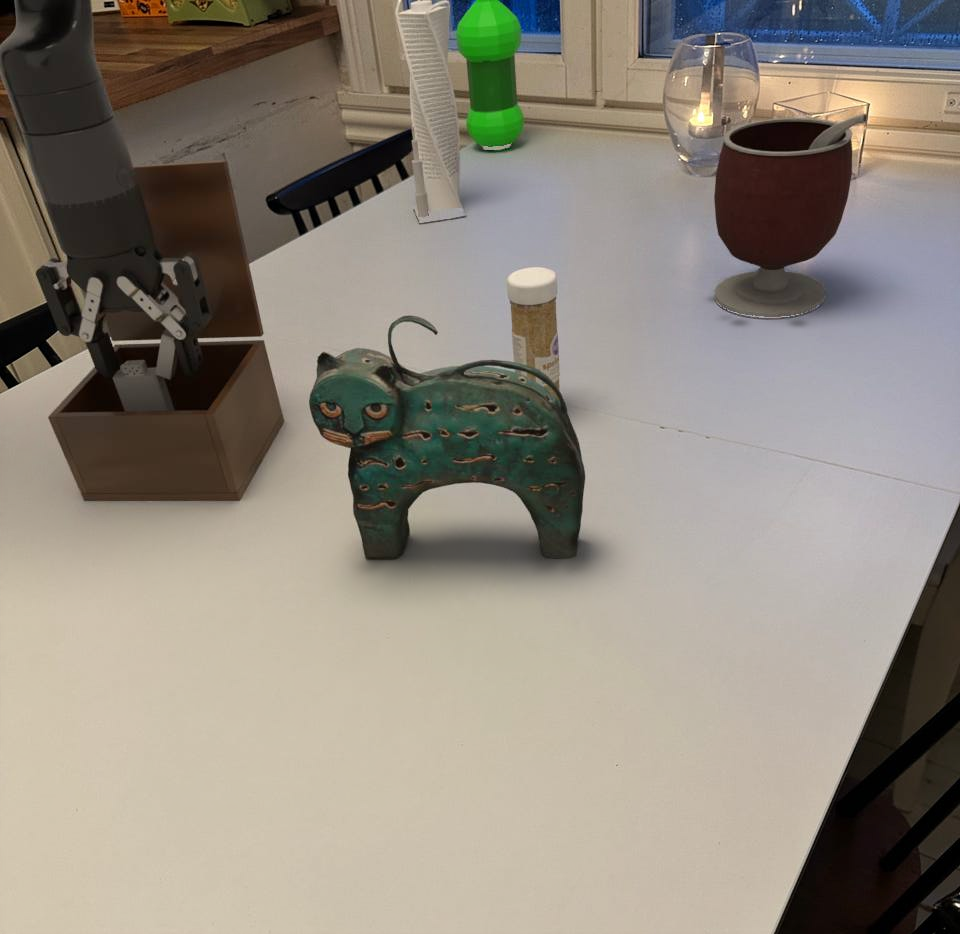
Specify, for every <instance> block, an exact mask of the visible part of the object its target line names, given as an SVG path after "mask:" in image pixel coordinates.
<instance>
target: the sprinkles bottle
mask: <svg viewBox="0 0 960 934" xmlns="http://www.w3.org/2000/svg"><path fill="white" fill-rule="evenodd" d="M506 288H507V289H506V291H507V298H508V301H509V304H510V314H511V315H510V318H511V338H512V339H511V340H512V354H513V362H515V363H521V364H524V365H527V366H530V367H533V368H536V369H538V370H540V371H541V372H543V373H544V374H545V375H547V376H548V377H549V378H550V379H551V380H552V381H553V382H554V383H555V384H556V386H557V388H558V389H559V391H560V389H561V388H560V386H561V385H560V376H561V374H560V373H561V372H560V370H561V369H560V352H559V350H560V349H559V333H558V321H557V320H558V318H557V302H556V301H557V296H558V277H557V274H556V273H555V271H553V270H552V269H550V268H546V267H539V266H538V267H536V266H534V267H526V268H525V267H524V268H521V269H518V270H515V271H514V272H511V274H509V275H508V277H507V280H506ZM514 372H517V373H519V374H522V375H524V376H527V377H528V378H530V379H532V380H533V381H535V382H537V383H539V384H540V385H542V386H543V387H545V388H546V389H547V390H548V391H549V392H550V393H552V394H553V395H554V396H555V397H556V398H557V399H558V401H559V398H558V396H557V395H556V393H555V392H554V391H553V390H552V388H551V387H550V386H548V385H547V384H546V383H544V382H543V381H541V380H540V379H539V378H537V377H535V376H534V375H532V374H529V373H527V372H524V371H519V370H515V369H514ZM560 392H561V391H560ZM559 402H560V401H559Z"/></svg>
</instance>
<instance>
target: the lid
mask: <svg viewBox="0 0 960 934" xmlns="http://www.w3.org/2000/svg"><path fill="white" fill-rule="evenodd" d="M228 165H229V164H228V161H227V159H220V160H218V159H217V160H203V161H189V162H172V163H154V164H138V165H133V168H134V171H135V174H136V178H137V181H138V184H139V188H140V191H141V194H142V197H143V201H144V204H145V207H146V211H147V214H148V217H149V220H150V224H151V227H152V231H153V237H154V243H155V246H156V248H157V249H158V251H159V252H160V254H161V255H162V256H163V257H164V258H181V257H183V256H184V255H185V254H186V253H188V252H190V253H193V254H194V255H195V256H196V257H197V259H198V263H199V267H200V270H201V274H202V278H203V282H204V285H205V289H206V293H207V296H208V300H209V304H210V307H211V311H212V319H211V320H210V321H209V323H208V324H207V325H206V326H205V327H204V329H203V330H202V331H201V332H196V335H197V338H198V339H223V338H256V337H257V338H258V337H259V338H261V337H263V336H264V335H265V334H264V328H263V323H262V318H261V314H260V309H259V305H258V300H257V296H256V291H255V286H254V282H253V276H252V272H251V267H250V262H249V258H248V254H247V249H246V245H245V239H244V236H243V231H242V226H241V220H240V217H239V212H238V206H237V202H236V198H235V193H234V189H233V183H232V180H231V175H230V170H229V166H228ZM163 282H164V283H165V284H166V285H167V286H168V287H169V289H170V290H171V291H172V292H173V293H174V294H175V295H176V296H177V297H178V300H179V303H180V305H181V306H182V307H183V308H184V304H183V301H182V298H181V294H180V291H179V287H178V286H177V285H174V284H173V283H172V279H171V278H170V276H169V275H167V274H165V275H164V278H163ZM155 301H156V302H157V303H159V304H161V301H160V299H159V298H158V297H156V299H155ZM184 309H185V308H184ZM105 324H106V325H107V329H108V333H109V337H110V339H111V342H123V341H125V342H126V341H127V342H128V341H159V340H160V341H161V336H162V334H163V333H164V331H165V330H166V328H165V327H164V326H163V325H162V324H161V323H160V322H156V321H154V320H153V319H152V318H151V317H150V316H149V315H148V314H147V313H146V312H145V311H144V310H143V312H131V311H127V310H123V311H120V312H117V313H109V312H108V313H107V316H106V320H105Z"/></svg>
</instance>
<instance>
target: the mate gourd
mask: <svg viewBox="0 0 960 934" xmlns="http://www.w3.org/2000/svg"><path fill="white" fill-rule="evenodd" d="M867 122H868V114H867V113H861V114H859V115H854V116H852V117H850V118H847V119H845V120H842V121H840V122H836V121H832V120H828V119H821V118H812V117H811V118H809V117H782V118H781V117H779V118H778V117H777V118H770V119H762V120H756V121H752V122H747V123H744V124H743V123H742V124H740V125H737V126H734V127H732V128H731V129H729V130H728V131H726V132H725V134H724V135H723V143H722V147H721V149H720V153H719V156H718V162H717V166H716V171H715V181H714V182H715V183H714V195H713V196H714V197H713V198H714V200H713V201H714V214H715V224H716V231H717V235H718V237H719V238H720V240H721V242H723V244H724V246H725V247H726V249H727V250H728V252H729V254H730V255H731V256H732V257H734V258H735V259H737V260H739V261H742V262H743V263H744V262H745V263H747V264H751V265H754V266H757V267H759V269H758V270H753V271H748V272H742V273H738V274H735V275H731V276H730V277H727V278H725V279H724V280H722V281H721V282H719V283H718V284H717V286H716V287H715V289H714V301H715V303H716V305H717V306H718V307H719V308H721V309H722V310H724V311H726V312H728V313H730V314H733V315H736V316H740V317H745V318H750V319H751V318H752V319H758V320H759V319H760V320H780V319H790V318H795V317H799V316H802V315H807V314H809V313H811V312H813V311H816V310H817V309H818V308H819V307H821V306H822V304H823V303H824V302H825V299H826V288H825V286H824V285H823V284H822V283H821V282H820V281H818V280H817V279H815V278H813V277H811V276H809V275H806V274H802V273H799V272H793V271H787V270H786V267H789V266H793V265H796V264H800V263H803V262H806V261H809V260H811V259H814V258H815V257H817V256H818V255H819V254H820V252H821V251H822V250H823V249H824V248H825V247H826V246H827V244H829V243H830V241H832V239H833V238H834V237H835V236H836V234H837V232H838V229H839V227H840V225H841V222H842V219H843V216H844V214H845V213H844V212H845V209H846V205H847V202H848V199H849V194H850V187H851V180H852V175H853V143H852V138H853V131H852V130H851V128H852V127H854V126H856V125H858V124H865V123H867ZM715 299H716V300H715ZM823 300H824V301H823ZM716 301H717V302H718V303H719V304H720V305H721V306H722V307H724V308H726V309H728V310H730V311H733V312H737V313H739V314H736V313H733V312H730V311H728V310H726V309H724V308H722V307H721V306H720V305H719V304H718V303H717V302H716ZM821 303H822V304H821ZM820 304H821V305H820ZM818 305H820V306H818ZM817 306H818V307H817ZM816 307H817V308H816ZM814 308H815V309H814ZM812 309H813V310H812ZM810 310H811V311H810ZM807 311H809V312H807ZM805 312H806V313H805ZM801 313H803V314H801ZM740 314H745V315H752V316H753V315H755V316H764V317H781V316H790V317H781V318H759V317H750V316H744V315H740ZM796 314H800V315H796ZM791 315H795V316H791Z"/></svg>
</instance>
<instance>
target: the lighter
mask: <svg viewBox="0 0 960 934" xmlns="http://www.w3.org/2000/svg"><path fill="white" fill-rule="evenodd" d="M174 339H175V337H174V336H173V335H172V334H171V333H170V332H169V331H168V330H167V329H166V330H165V331H164V333H163V334H162V336H161V340H160V342H159V343H160V349H159V355H158V361H157V367H155V368H147V366H146V363H145V360H133V361H126V362H125V363H124V364H122V365H121V366H120V370H118V371H117V372H116V373H115V375H114V376H113V381H114V383H115V386H116V389H117V391H118V394H119V397H120V399H121V402H122V405H123V407H124V410H125V412H131V411H174V407H173V404H172V401H171V398H170V395H169V392H168V389H167V386H166V383H165V380H164V378H166V379H169V380H171V378H172V376H173V375H174V373H175V370H176V365H177V359H178V354H177V351H176V348H175V344H174Z"/></svg>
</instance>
